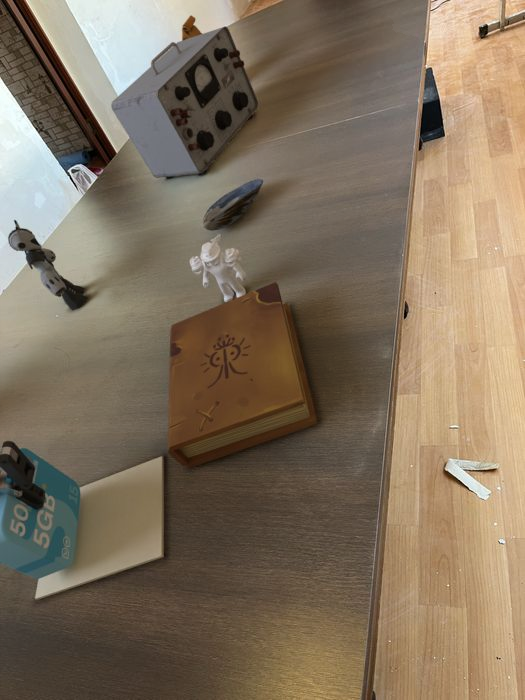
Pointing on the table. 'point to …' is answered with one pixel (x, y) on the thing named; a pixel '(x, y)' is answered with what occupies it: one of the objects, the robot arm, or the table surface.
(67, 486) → the data package
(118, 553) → the mat
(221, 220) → the seashell
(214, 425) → the diary
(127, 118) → the vintage electronic device
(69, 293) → the robot
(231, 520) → the table surface
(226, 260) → the hat wearing toy figure
